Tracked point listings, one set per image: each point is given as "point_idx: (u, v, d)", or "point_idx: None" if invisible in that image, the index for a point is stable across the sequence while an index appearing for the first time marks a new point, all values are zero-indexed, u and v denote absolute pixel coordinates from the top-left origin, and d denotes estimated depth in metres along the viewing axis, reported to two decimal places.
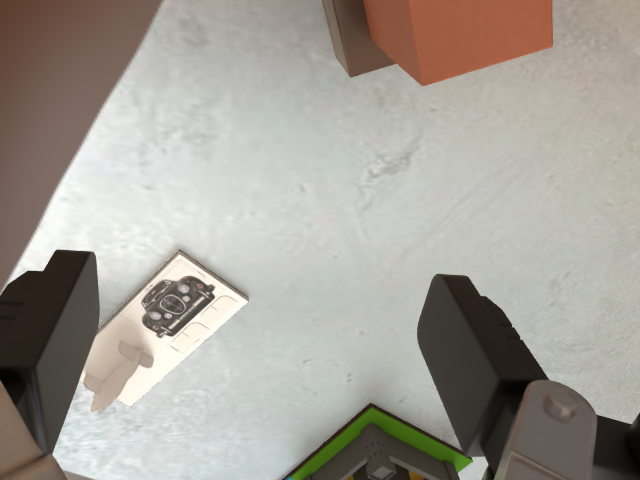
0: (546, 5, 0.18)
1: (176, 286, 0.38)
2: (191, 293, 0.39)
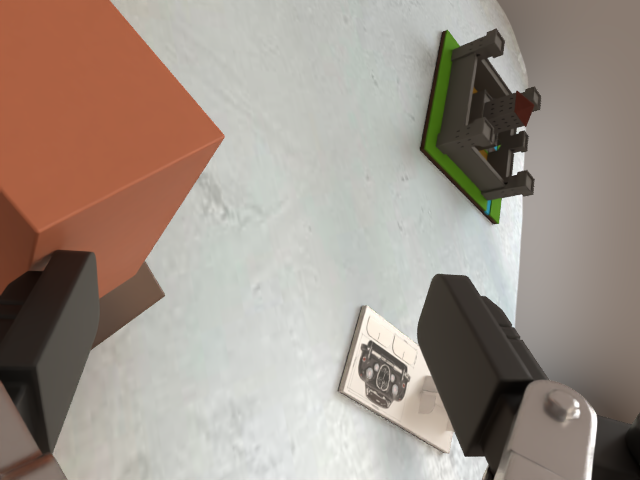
0: None
1: (368, 381, 0.38)
2: (372, 364, 0.38)
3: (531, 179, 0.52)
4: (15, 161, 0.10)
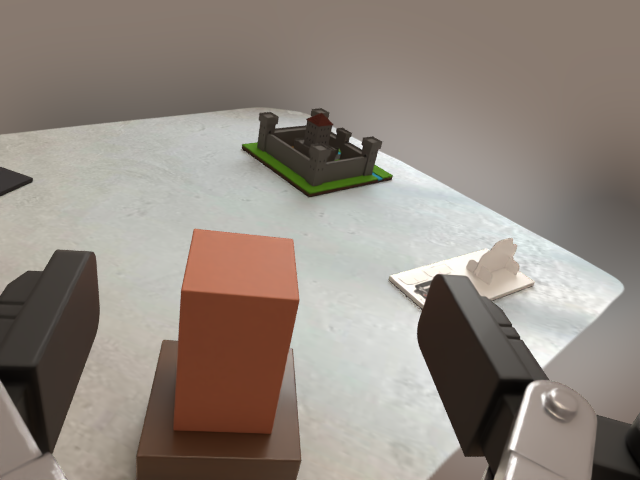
0: (195, 245, 0.24)
1: None
2: None
3: (371, 138, 0.69)
4: (266, 289, 0.22)
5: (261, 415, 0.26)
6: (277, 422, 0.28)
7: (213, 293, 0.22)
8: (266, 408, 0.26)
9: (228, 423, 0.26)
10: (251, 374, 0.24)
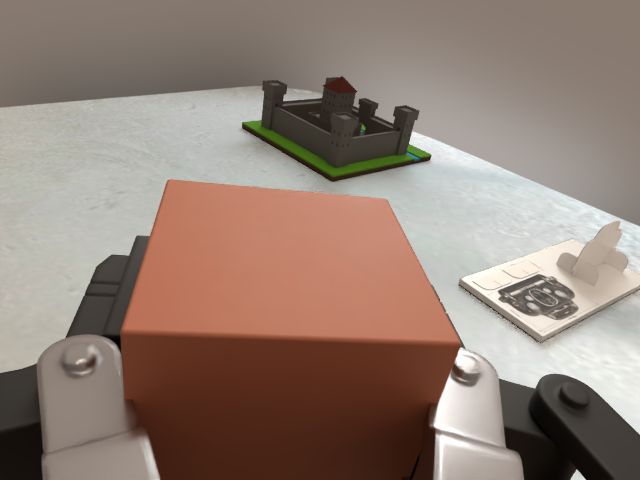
0: (169, 211, 0.10)
1: (541, 310, 0.34)
2: (524, 300, 0.34)
3: (405, 107, 0.54)
4: (366, 316, 0.08)
5: None
6: None
7: (219, 337, 0.07)
8: None
9: None
10: None
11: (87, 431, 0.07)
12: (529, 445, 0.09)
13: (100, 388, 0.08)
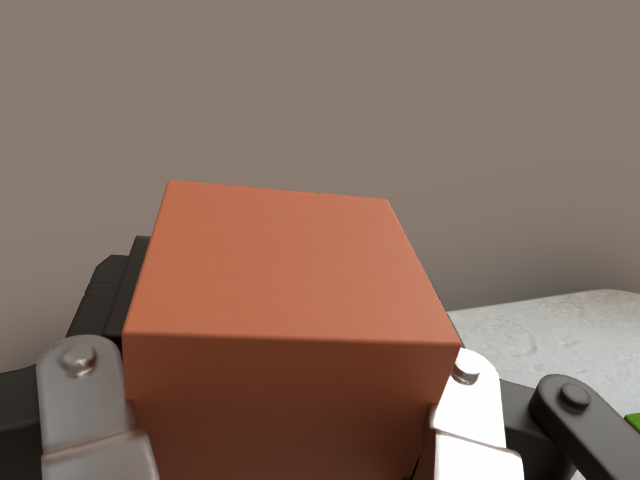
0: (170, 212, 0.10)
1: None
2: None
3: None
4: (367, 317, 0.08)
5: None
6: None
7: (220, 337, 0.07)
8: None
9: None
10: None
11: (87, 431, 0.07)
12: (530, 445, 0.09)
13: (99, 388, 0.08)
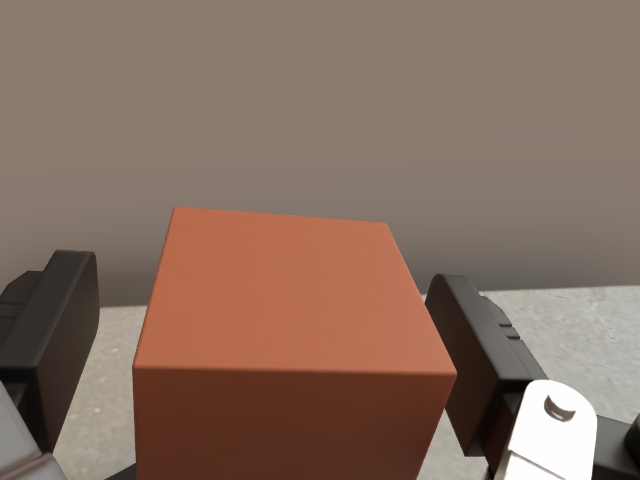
0: (176, 240, 0.10)
1: None
2: None
3: None
4: (366, 347, 0.08)
5: None
6: None
7: (226, 370, 0.08)
8: None
9: None
10: None
11: None
12: None
13: None
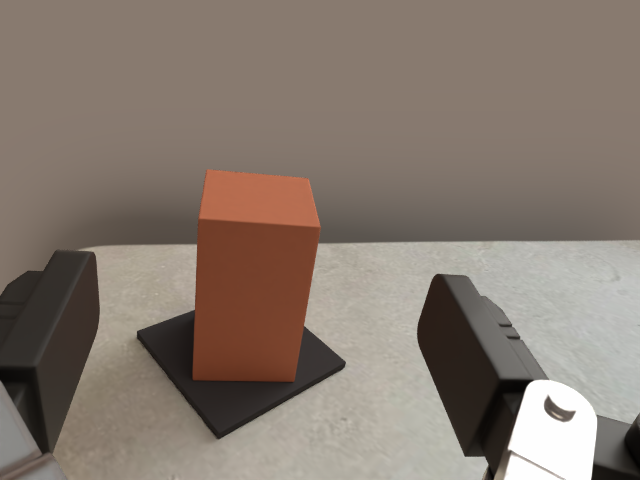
0: (209, 182, 0.24)
1: None
2: None
3: None
4: (286, 218, 0.22)
5: (283, 361, 0.25)
6: None
7: (231, 221, 0.21)
8: (288, 353, 0.25)
9: (249, 371, 0.25)
10: (272, 314, 0.23)
11: None
12: None
13: None
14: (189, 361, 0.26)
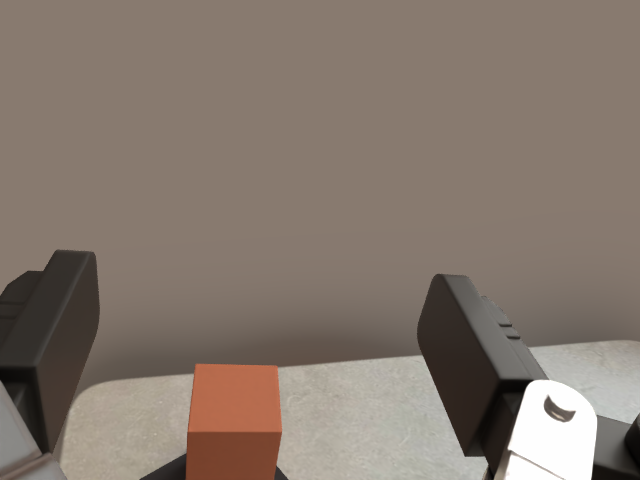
0: (197, 382, 0.30)
1: None
2: None
3: None
4: (255, 423, 0.28)
5: None
6: None
7: (213, 432, 0.27)
8: None
9: None
10: None
11: None
12: None
13: None
14: None
